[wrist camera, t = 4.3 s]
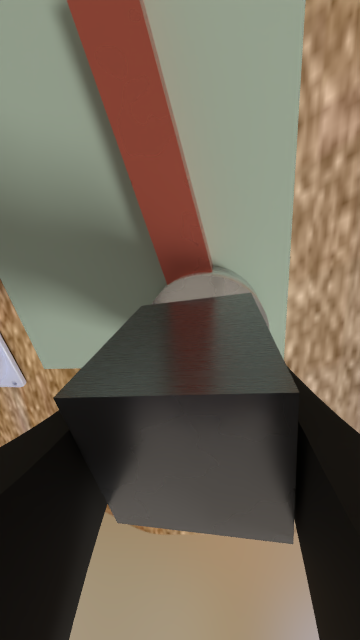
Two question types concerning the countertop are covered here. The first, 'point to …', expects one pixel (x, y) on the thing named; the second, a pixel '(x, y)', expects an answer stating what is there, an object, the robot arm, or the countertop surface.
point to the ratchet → (151, 146)
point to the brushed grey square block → (191, 420)
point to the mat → (112, 177)
